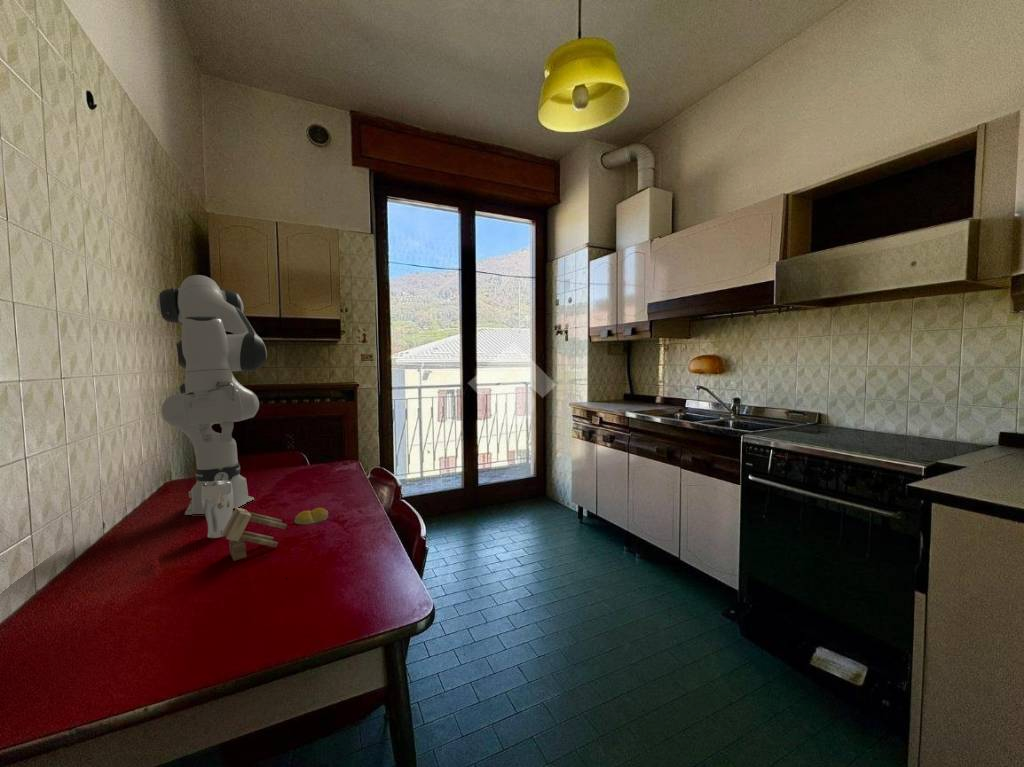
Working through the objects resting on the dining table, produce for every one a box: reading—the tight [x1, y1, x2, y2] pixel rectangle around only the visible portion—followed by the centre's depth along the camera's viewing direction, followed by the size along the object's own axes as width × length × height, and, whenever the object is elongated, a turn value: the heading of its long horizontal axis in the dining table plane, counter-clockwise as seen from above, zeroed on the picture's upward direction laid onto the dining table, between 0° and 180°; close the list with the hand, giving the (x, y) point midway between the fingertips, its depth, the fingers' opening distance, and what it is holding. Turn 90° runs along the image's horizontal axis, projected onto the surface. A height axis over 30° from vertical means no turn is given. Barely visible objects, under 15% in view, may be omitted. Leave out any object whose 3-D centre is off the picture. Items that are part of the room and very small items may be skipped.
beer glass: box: [202, 479, 234, 539], centre depth 112 cm, size 7×7×15 cm
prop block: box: [228, 540, 247, 561], centre depth 98 cm, size 5×2×3 cm, turn 43°
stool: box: [223, 507, 287, 548], centre depth 100 cm, size 6×6×11 cm
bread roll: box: [294, 507, 329, 525], centre depth 120 cm, size 8×9×4 cm
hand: (216, 442), depth 97 cm, fingers open, 8 cm apart
